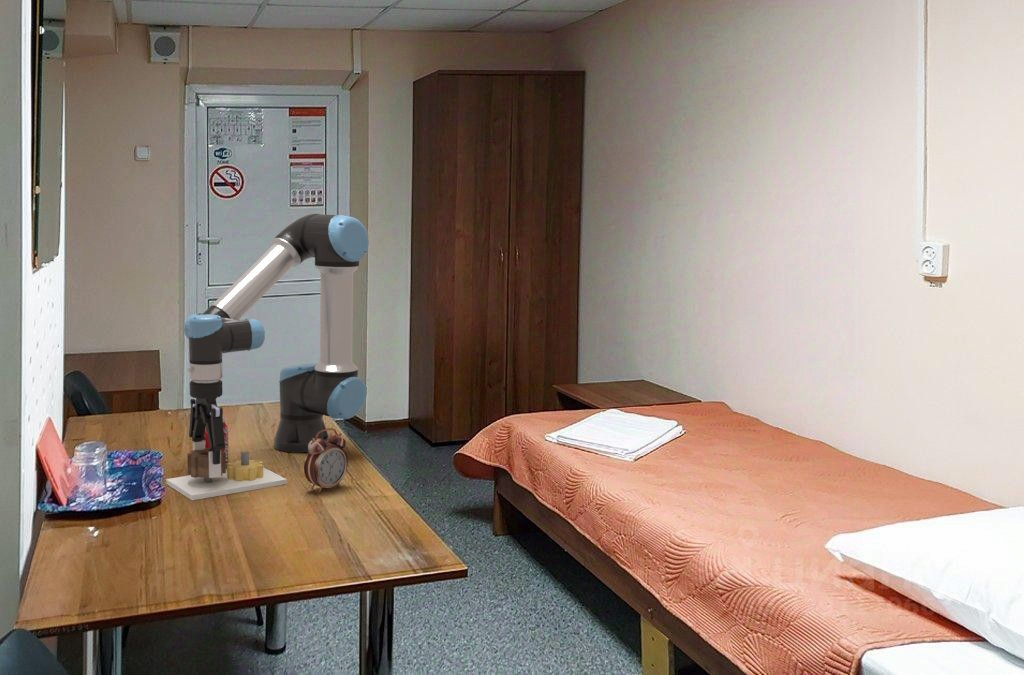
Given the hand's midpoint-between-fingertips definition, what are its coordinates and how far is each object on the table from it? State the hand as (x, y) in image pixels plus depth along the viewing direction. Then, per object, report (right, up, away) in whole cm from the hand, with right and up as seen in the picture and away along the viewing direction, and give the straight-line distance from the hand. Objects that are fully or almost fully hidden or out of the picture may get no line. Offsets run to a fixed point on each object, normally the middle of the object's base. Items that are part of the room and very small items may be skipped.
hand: (207, 472), depth 257 cm
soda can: (-4, -1, +19) cm, 20 cm away
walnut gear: (0, 0, 0) cm, 0 cm away
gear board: (+4, -3, +4) cm, 6 cm away
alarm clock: (+28, -4, +2) cm, 29 cm away
